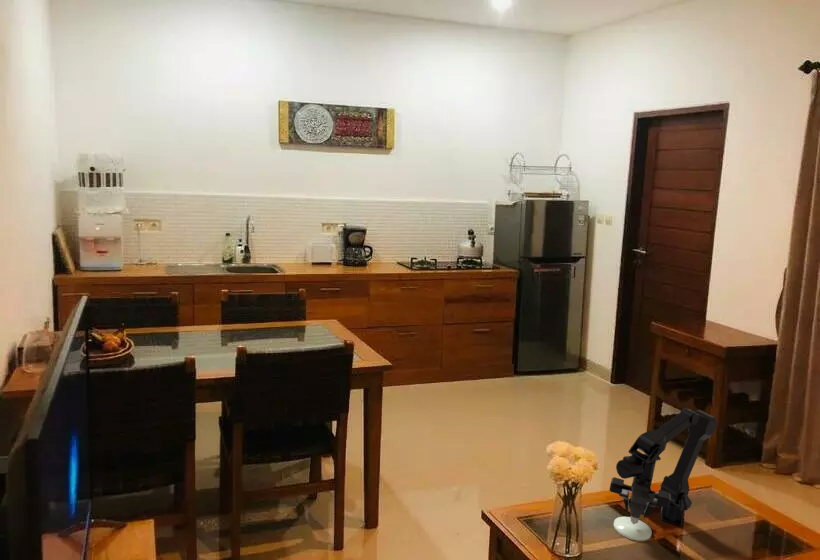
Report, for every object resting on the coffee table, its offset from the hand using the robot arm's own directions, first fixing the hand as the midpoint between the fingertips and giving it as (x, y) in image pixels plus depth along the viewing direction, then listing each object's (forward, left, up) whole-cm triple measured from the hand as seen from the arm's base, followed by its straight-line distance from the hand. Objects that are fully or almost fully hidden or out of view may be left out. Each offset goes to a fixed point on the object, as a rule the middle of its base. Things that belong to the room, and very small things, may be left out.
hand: (635, 515), depth 218 cm
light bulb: (0, 0, -3) cm, 3 cm away
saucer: (0, 0, -5) cm, 5 cm away
